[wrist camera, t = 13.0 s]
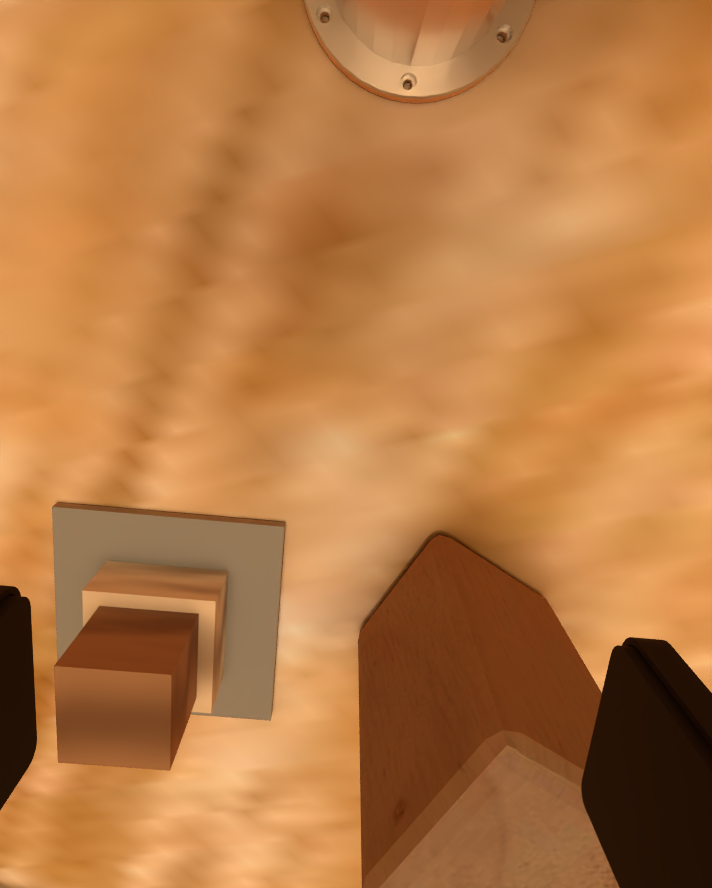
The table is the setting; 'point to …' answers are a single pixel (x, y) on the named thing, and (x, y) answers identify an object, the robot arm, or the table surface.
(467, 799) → the wooden block
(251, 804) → the table surface
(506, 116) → the table surface
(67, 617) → the grey flat square
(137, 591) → the birch base brick
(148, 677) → the walnut cube
